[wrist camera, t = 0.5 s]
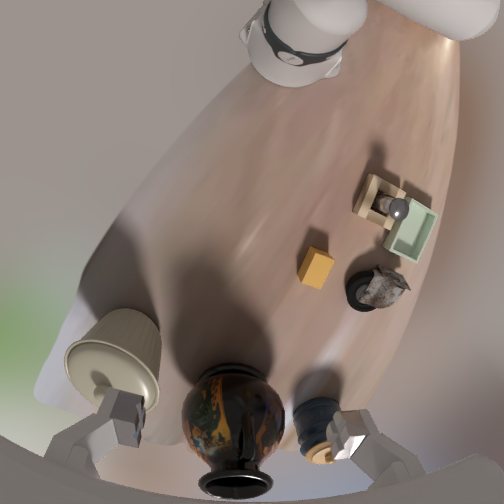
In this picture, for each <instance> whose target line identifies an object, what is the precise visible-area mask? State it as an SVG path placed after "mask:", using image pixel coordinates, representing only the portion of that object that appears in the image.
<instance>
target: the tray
mask: <svg viewBox="0 0 504 504" xmlns="http://www.w3.org/2000/svg"><path fill="white" fill-rule="evenodd" d="M404 199H405V200H406V201H407V202H408V204H409V213H408V216H407V217H406V218H405V219H404V220H402V221H397V220H395V221H394V224H393V226H392V228H391V230H389V232H388V234H387V237H386V239H385V241H384V243H383V245H382V246H383V247H384V248H386V249H387V250H389V251H391V252H393V253H395V254H397V255H399V256H401V257H403V258H406V259H408V260H410V261H412V262H414V263H416V264H417V263H418V261H419V258H420V256H421V254H422V252H423V250H424V248H425V246H426V243H427V241H428V239H429V237H430V234H431V232H432V230H433V227H434V225H435V222H436V220H437V218H438V214H436V213H435V212H433V211H432V210H430V209H429V208H427V207H425V206H424V205H422V204H421V203H419V202H417V201H416V200H414V199H413V198H410V197H406V196H405V197H404Z"/></svg>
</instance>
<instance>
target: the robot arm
mask: <svg viewBox="0 0 504 504" xmlns="http://www.w3.org/2000/svg"><path fill="white" fill-rule="evenodd" d="M376 1H378V2H380V3H381V4H383V5H385V6H387V7H389V8H390V9H392V10H394V11H395V12H397V13H399V14H400V15H402V16H404V17H405V18H407V19H409V20H411V21H413V22H415V23H418V24H420V25H422V26H424V27H426V28H428V29H430V30H432V31H434V32H436V33H439V34H441V35H443V36H445V37H447V38H448V39H451V40H456V41H460V40H468V39H472V38H476V37H478V36H480V35H482V34H483V33H485V32H486V31H488V30H489V29H490V28H491V27H492V26H493V24H494V23H495V21H496V19H497V17H498V14H499V10H500V0H376ZM263 4H264V5H263V6H262V7H261V8H260V9H259V10H258V11H257V13H256V14H255V15H254V16H253V17H252V18H251V20H250V21H249V22H248V23H247V24H246V25H245V27H244V28H243V29H242V30H241V32H240V34H239V38H240V40H241V41H242V42H243V44H244V45H245V46H246V47H247V49H248V52H249V56H250V59H251V62H252V64H253V66H254V67H255V69H256V70H257V71H258V72H259V73H260V74H261V75H262V76H263V77H265V78H266V79H267V80H269V81H271V82H273V83H275V84H278V85H281V86H286V87H302V86H306V85H309V84H312V83H314V82H315V81H317V80H319V79H321V78H331V77H335V76H337V74H338V73H339V70H340V63H341V60H342V49H343V47H344V45H345V44H346V43H347V41H348V38H349V37H351V36H352V35H353V34H354V33H355V32H356V31H357V30H358V29H360V28H361V27H362V25H363V24H364V22H365V20H366V17H367V13H368V5H367V1H366V0H264V2H263ZM247 30H250V31H249V32H248V31H247ZM144 403H145V398H144V396H142V395H138V394H134V393H130V392H126V391H123V390H119V389H115V388H111V387H109V388H108V389H107V391H106V393H105V396H104V398H103V400H102V403H101V405H100V407H99V410H98V412H97V414H94V413H93V414H91V415H90V416H88V417H86V418H85V419H83V420H81V421H79V422H78V423H76V424H74V425H72V426H71V427H69V428H67V429H65V430H63V431H61V432H60V433H58V434H56V435H54V436H53V438H52V441H51V443H50V445H49V447H48V449H47V451H46V453H45V455H44V457H41V456H39V455H37V454H35V453H33V452H31V451H29V450H27V449H25V448H23V447H21V446H19V445H17V444H15V443H13V442H11V441H10V440H8V439H6V438H5V437H3V436H1V435H0V504H504V473H503V471H502V470H501V468H500V467H499V465H498V464H497V463H496V462H494V461H492V460H491V459H489V458H487V457H485V456H483V455H480V454H473V455H470V456H468V457H466V458H464V459H462V460H459V461H457V462H454V463H452V464H450V465H447V466H445V467H442V468H440V469H437V470H435V471H432V472H429V473H425V471H424V469H423V467H422V465H421V463H420V461H419V459H418V457H417V456H416V455H415V454H413V453H412V452H410V451H408V450H407V449H405V448H404V447H402V446H401V445H399V444H398V443H396V442H395V441H393V440H392V439H390V438H389V437H387V436H386V435H384V434H383V433H381V434H380V433H379V431H378V429H377V427H376V425H375V423H374V421H373V419H372V417H371V415H370V413H369V411H368V410H367V409H363V410H349V411H337V412H336V413H335V414H334V415H333V419H334V420H333V421H331V422H330V423H329V424H328V426H327V430H326V437H327V440H328V442H329V443H331V444H332V446H331V448H330V450H331V453H332V456H333V459H345V458H350V459H351V460H352V461H353V462H354V463H355V464H356V465H357V466H358V467H359V468H360V469H361V470H363V471H364V472H365V473H366V474H367V475H368V476H369V477H370V478H371V479H372V480H373V481H374V482H373V483H372V485H370V486H369V488H368V489H367V490H366V491H361V492H356V493H352V494H345V495H339V496H334V497H327V498H318V499H309V500H298V501H283V502H226V501H212V500H201V499H192V498H184V497H177V496H170V495H165V494H159V493H154V492H148V491H144V490H139V489H135V488H131V487H127V486H123V485H119V484H116V483H112V482H109V481H105V480H102V479H100V476H99V474H98V472H97V470H96V468H95V466H94V465H95V464H96V463H97V462H99V461H100V460H101V459H102V458H104V457H105V456H106V455H107V454H108V453H110V452H111V451H112V450H113V449H114V448H116V447H117V446H118V445H119V444H122V445H126V446H131V447H136V448H139V444H140V440H141V430H142V429H143V428H144V423H145V416H146V410H145V407H144Z"/></svg>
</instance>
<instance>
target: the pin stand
mask: <svg viewBox="0 0 504 504" xmlns="http://www.w3.org/2000/svg"><path fill="white" fill-rule="evenodd" d="M378 190H380V191H382V192H383V193H385V194H387V195H389V197H391V198H394V199H395V198H402V199H404V197H405V195H406V192H404V191H402V190H401V189H399V188H397V187H396V186H394V185H392V184H390V183H389V182H387V181H385V180H383V179H382V178H380V177H378V176H376V175H374V174H369V173H368V175H367V178H366V180H365V183H364V185H363V188H362V190H361V193H360V195H359V197H358V200H357V202H356V204H355V207H354V209H353V211H352V212H353V213H355V214H357V215H359V216H361V217H363V218H366V219H368V220H370V221H372V222H374V223H376V224H378V225H380V226H382V227H384V228H386V229H388V230H391V228H392V226H393V224H394V221H395V219H393V218H392V217H391V216H390V215H389V214H387V213H384V212H382V214H379V213H377V212H375V211H373V210H371V209H370V208H371V205H372V203H373V201H374V198H375V196H376V193H377V191H378Z"/></svg>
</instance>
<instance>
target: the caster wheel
mask: <svg viewBox="0 0 504 504" xmlns="http://www.w3.org/2000/svg"><path fill="white" fill-rule="evenodd" d="M378 266H379V268H380V270H381V271H379V270H371V271H363V272H359V273H357V274H355V275H354V276H353V277H352V278H351V279H350V280H349V281H348V283H347V286H346V296H347V301H348V303H349V305H350V306H351V307H352V308H353V309H355V310H357V311H361V312H368V311H372V310H374V309H376V308H386V307H389V306H391V305H392V304H394V303H395V302H396V301H397V300H398V299H399V298H400V296H401V295H402V293H403V292H404V290H405V289H408V290H410V291H411V289H410V288H409V286H408V284H407V282H406V280H405V279H404V277H403V276H402V275H401V274H399V273H396V272H394V271H392V270H390V269H388V268H386V267H384V266H381V265H379V264H378Z"/></svg>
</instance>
